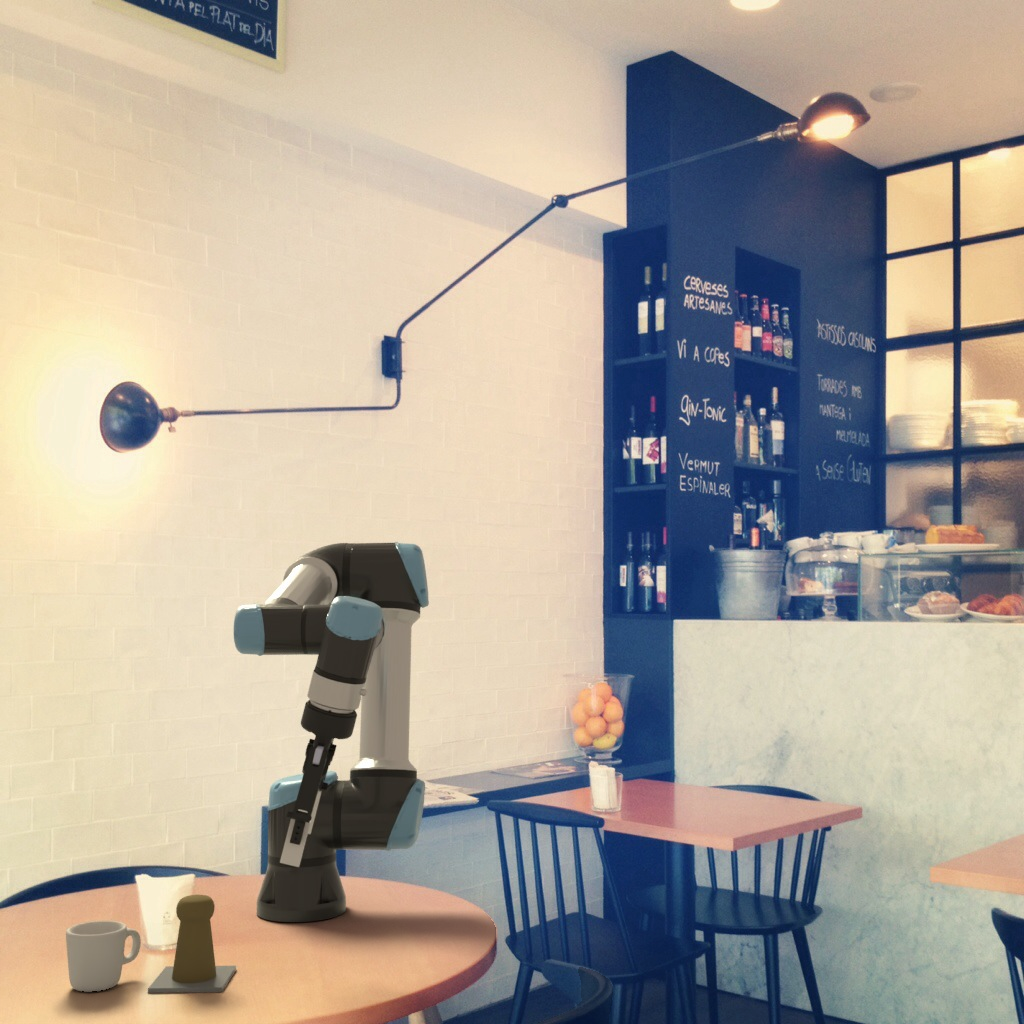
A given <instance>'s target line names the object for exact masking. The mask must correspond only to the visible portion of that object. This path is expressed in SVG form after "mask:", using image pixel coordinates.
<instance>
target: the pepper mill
mask: <svg viewBox="0 0 1024 1024" xmlns="http://www.w3.org/2000/svg"><path fill="white" fill-rule="evenodd" d="M175 913H176V917H177V919H178V920H179V928H178V934H177V940H176V941H177V942H176V945H175V946H176V948H175V955H174V961H173V973H172V980H174V981H176V982H180V983H198V982H204V981H208V980H210V979H213V978H214V977H216V967H215V966H216V960H215V959H216V957H215V950H214V940H213V932H212V925H211V919H212V917H213V916H214V914H215V901H214V900H213V898H212V897H211V896H209V895H205V894H191V895H186V896H183V897H181V898H180V899H179V901H178V902H177V904H176V909H175Z"/></svg>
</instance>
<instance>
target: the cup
mask: <svg viewBox="0 0 1024 1024" xmlns="http://www.w3.org/2000/svg"><path fill="white" fill-rule="evenodd" d="M129 936H130V937H131V939H132V945H131V946H132V947H131V949H130V952H129V953H128V954H127V955H125V946H126V940H127V939H128V937H129ZM65 940H66V953H67V954H66V955H67V964H68V966H67V967H68V969H67V970H68V979H69V983H70V986H71V988H72V989H74V990H75V991H77V992H82V991H84V992H83V993H93V992H92V991H97V992H102V991H101V990H103V991H106V989H107V990H109V988H110V989H113V987H115V986H117V984H118V983H119V982H120V979H121V976H122V970H123V965H126V964H130V963H131V962H133V961H134V960H136V958H137V957H138V955H139V954H140V949H141V935H140V933H139V931H137V929H134V928H130V927H127V925H126V924H125V923H124V922H121V921H116V920H95V921H94V920H93V921H88V922H83V923H82V922H81V923H78V924H73V925H72V926H70V927H68V928H67V929H66V931H65Z"/></svg>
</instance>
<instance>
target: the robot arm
mask: <svg viewBox="0 0 1024 1024" xmlns="http://www.w3.org/2000/svg"><path fill="white" fill-rule="evenodd" d="M428 587H429V586H428V580H427V571H426V566H425V559H424V554H423V550H422V549H421V547H420V546H419V545H417V544H415V543H403V542H398V541H395V542H368V543H367V542H365V543H364V542H361V543H359V542H356V543H355V542H354V543H350V542H349V543H348V542H338V543H332V544H328V545H324V546H321V547H318V548H316V549H313V550H311V551H309V552H307V553H305V554H303V555H301V556H300V557H299V558H297V559H296V560H294V561H293V562H292V563H291V564H290V565H289V566H288V567H287V569H286V571H285V573H284V576H283V580H282V583H281V584H280V586H278V588H277V589H276V590H275V591H274V592H273V593H272V595H270V597H269V598H268V599H266V601H265V602H264V603H263V604H259V603H253V604H243V605H240V606H239V607H238V608H237V609H236V612H235V615H234V620H233V640H234V641H233V642H234V645H235V648H236V650H237V652H239V653H240V654H242V655H256V656H259V657H260V656H276V655H277V656H285V655H287V656H289V655H292V656H293V655H298V656H299V655H307V656H309V655H311V656H313V655H314V656H317V658H316V664H315V666H314V669H313V670H312V675H311V679H310V684H309V686H308V691H307V696H306V697H307V698H308V699H309V700H307V701H306V702H305V704H304V708H303V712H302V716H301V719H300V726H301V727H302V729H303V730H305V731H306V732H308V733H312V734H313V735H314V736H315V737H314V739H313V738H309V740H308V743H307V746H306V749H305V754H304V755H305V759H304V763H303V765H302V771H301V772H302V773H300V774H294V775H291V776H287V777H286V776H285V777H282V778H279V779H278V780H275V781H274V782H273V783H272V785H271V786H270V788H269V793H268V794H269V797H268V806H267V815H268V816H267V817H268V819H267V826H268V827H267V828H268V829H267V867H266V871H265V875H264V878H263V880H262V883H261V887H260V890H259V893H258V895H257V899H256V915H257V916H258V917H259V918H261V919H263V920H267V921H272V922H279V923H280V922H281V923H306V922H307V923H308V922H315V921H317V922H318V921H322V920H327V919H328V920H329V919H331V918H332V919H333V918H335V917H338V916H340V915H342V914H343V913H345V912H346V910H347V897H346V893H345V889H344V886H343V882H342V880H341V877H340V873H339V870H338V866H337V850H345V851H347V850H350V851H351V850H352V851H353V850H359V851H360V850H361V851H364V850H365V851H367V850H368V851H373V850H377V851H378V850H379V851H380V850H381V851H388V852H389V851H391V850H408V849H410V848H412V847H413V846H415V844H416V842H417V840H418V837H419V834H420V829H421V825H422V819H423V812H424V805H425V804H424V803H425V795H426V793H425V792H426V783H425V781H424V780H422V779H420V778H419V779H418V777H417V776H418V769H417V768H416V767H415V766H414V765H413V763H411V762H410V759H409V758H410V757H409V756H410V755H409V753H410V752H409V751H410V749H409V747H410V711H411V707H410V706H411V666H412V665H411V664H412V663H411V662H412V627H413V625H414V624H415V623H416V622H417V621H418V620H419V619H420V618H421V609H422V608H423V609H425V607H428V606H429V603H430V602H429V588H428ZM359 707H360V729H359V730H360V732H359V733H360V734H359V735H360V736H359V759H358V760H357V762H355V764H354V765H353V766H352V767H351V768H350V770H349V779H348V780H341V779H340V780H339V776H338V773H337V772H336V771H332V770H330V771H329V767H330V766H331V763H332V762H333V759H334V756H335V753H336V749H337V744H334V740H335V739H337V740H347V739H349V738H350V737H352V736H353V732H354V728H355V725H356V721H357V717H358V713H357V711H356V710H358V709H359Z"/></svg>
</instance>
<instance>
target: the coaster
mask: <svg viewBox="0 0 1024 1024" xmlns="http://www.w3.org/2000/svg"><path fill="white" fill-rule="evenodd" d="M173 966H174V965H173ZM173 966H165V967H164V969H162V971H161V972H160V973H159V975H157V977H156V978H155V979H154V980H153V982H152V983H151V984H150V985H149V987H148V988H147V993H148V994H158V993H159V994H160V993H161V994H162V993H165V994H169V993H170V994H171V993H178V994H179V993H222V991H224V990H225V988H226V987H227V985H228V984H227V983H229V982H230V981H231V979H232V977H233V976H234V974H235V972H236V971H237V965H215V967H216V977H214V978H213V979H210V980H208V981H204V982H198V983H180V982H176V981H174V980H172V973H173ZM235 970H236V971H235ZM232 975H233V976H232ZM230 978H231V979H230Z"/></svg>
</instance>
